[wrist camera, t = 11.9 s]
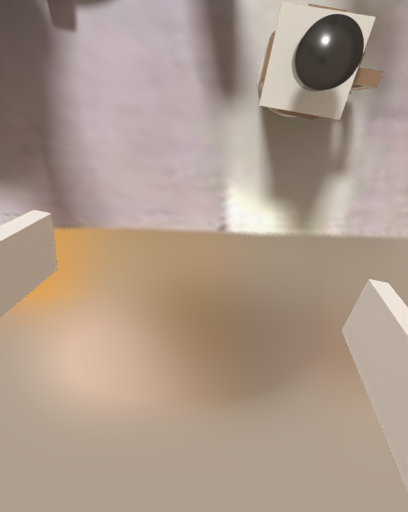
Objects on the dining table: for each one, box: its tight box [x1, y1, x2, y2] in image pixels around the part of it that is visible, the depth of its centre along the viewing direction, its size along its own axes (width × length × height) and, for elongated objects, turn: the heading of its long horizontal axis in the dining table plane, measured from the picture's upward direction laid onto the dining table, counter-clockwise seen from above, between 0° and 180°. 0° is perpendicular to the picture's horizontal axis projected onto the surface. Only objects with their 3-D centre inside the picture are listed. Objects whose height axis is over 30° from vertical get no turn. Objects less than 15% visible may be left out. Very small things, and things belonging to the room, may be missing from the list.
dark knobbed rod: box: [292, 14, 364, 92], centre depth 31 cm, size 5×5×18 cm
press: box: [258, 2, 383, 120], centre depth 35 cm, size 13×10×13 cm
